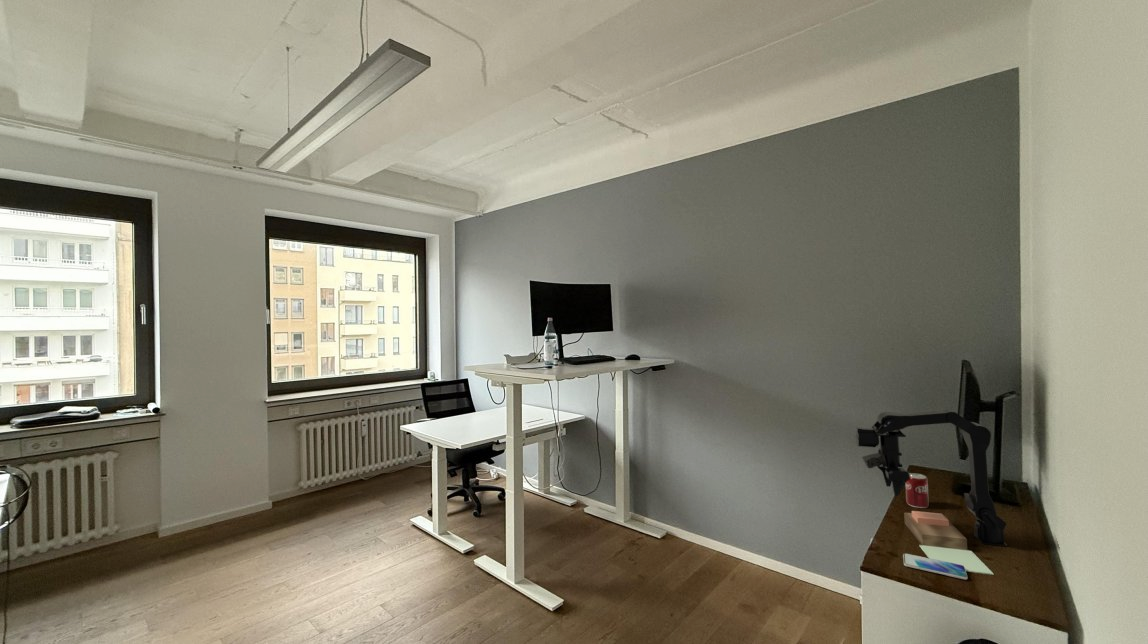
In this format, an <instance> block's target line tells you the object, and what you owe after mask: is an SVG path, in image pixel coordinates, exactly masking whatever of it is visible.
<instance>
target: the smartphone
mask: <svg viewBox="0 0 1148 644" xmlns="http://www.w3.org/2000/svg"><path fill="white" fill-rule="evenodd" d="M902 558H903V565H904V566H905V567H907V568H913V569H917V570H921V571H924V572H925V571H926V572H930V573H935V574H938V575H939V574H940V575H944V576H947V577H951V578H956V579H961V580H965V581H966V580H968V574H967V571H966V570H965V567H964V566H963V565H959V564H954V563H949V562H945V561H940V560H935V559H930V558H928V557H924V556H920V555H916V554H910V553H906V552H905V553H903V554H902Z"/></svg>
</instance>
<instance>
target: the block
mask: <svg viewBox="0 0 1148 644" xmlns="http://www.w3.org/2000/svg"><path fill="white" fill-rule="evenodd" d="M911 513H912V517H913V518H914V519H915V520H916V522H917V523H920V524H930V525H940V526H949V522H950V520H949V519H948V518H947V517H946V516H945V515H944V514H943V513H938V512H927V511H918V510H911Z"/></svg>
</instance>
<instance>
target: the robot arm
mask: <svg viewBox="0 0 1148 644" xmlns="http://www.w3.org/2000/svg"><path fill="white" fill-rule="evenodd" d="M939 424H952V425H953V426H955V427H957V428H958V429H960V430H961V433H962V437H963V439H964V441H965V444H966V446H967V450H968V458H969V459H968V460H969V461H968V462H969V475H970V477H969V478H970V487H971V488H970V491H969V492H968V493H967V492H964V493H963V496H964V503H963V504H964V505H965V506H966V507H967V509H968V511H970V512H971V513H972V514H973V515H974V517H975V518H976V520H975V523H974V524H973V527H974V528H973V529H974V530H973V531H974V532H973V533H974V534H973V536H974V537H975V538H976V539H978V541H979V542H981V543H982V544H984V545H992V546H1000V547H1008V544H1007V543H1006V542H1005V535H1004V533H1005V532H1004V529H1006V526H1007V522H1006V521H1004V520H1003V519H1002V518H1001V517H1000V516H998V514H997V510H996V507H995V504H994V501H993V499H992V497H991V495H990V489H989V478H988V477H989V473H988V463H987V462H988V461H987V459H988V458H987V451H988V449H989V447H990V445H991V438H992V434H991V431H990V430H989V429H988V428H987V427H985V426H983V425H981V424H980V423H977V422H974V421H969V420H968V419H966V418H965V417H962V416H961V415H960V414H959V413H957V412H955V411H953V410H951V409H945V410H939V411H926V412H915V413H899V412H891V411H890V412H888V411H884V412H880V413H879V415H878V416H877V420H876V421H875V422H874V424H873V425H872V426H871V428H863V427H856V432H855V435H854V436H855V444H856V446H857V447H862V448H863V447H864V448H876V447H878V446H879V445H880V446H879V448H878V449H877V453H876V452H875V453H872V454H867V455H864V456H862V457H861V458H862V460H863V462H864V465H865V466H866V467H867V469H874V468H875V467H877V468H878V469H879V471H881V473H882V476H883V480H884V482H885V485H886V487H891V488H892V490H893V494H894V496H895V497H896V496H897V497H898V496H900V494H901V492H902V490H903V489H904V486H906V485H905V483H906V482H907V481H908V480H910V474H909V473H910V472H908V471H907V470H906V469H904V468H903V464H902V463H901V456H902V452H901V450H900V438H906V437H907V435H906V434H904V432H903V431H901V430H903V429H906V428H908V427H913V426H925V425H926V426H927V425H928V426H929V425H939Z"/></svg>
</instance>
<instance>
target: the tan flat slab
mask: <svg viewBox="0 0 1148 644" xmlns="http://www.w3.org/2000/svg"><path fill="white" fill-rule="evenodd" d="M903 514H904V524H905V526H906V527H907V528H908V530H909V531H910V532H911V533H912V534H913V535H914V537H915V539H916V540H917V541H918V542H919V543H920V545H925V546H933V547H942V548H951V549H960V550H968V538H966V537H965V536H964V535H963V533H961V532H960V531H959V529H957V528H956V527H955V526H954V525H953V524H952V523H951V522H950V521H949V526H940V525H930V524H920V523H917V522H916V520H915V519H914V518H913V517H912V512H904V513H903Z"/></svg>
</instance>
